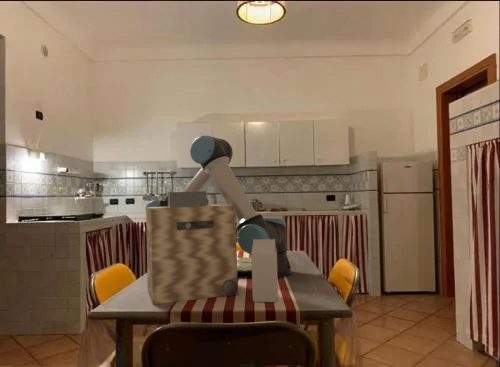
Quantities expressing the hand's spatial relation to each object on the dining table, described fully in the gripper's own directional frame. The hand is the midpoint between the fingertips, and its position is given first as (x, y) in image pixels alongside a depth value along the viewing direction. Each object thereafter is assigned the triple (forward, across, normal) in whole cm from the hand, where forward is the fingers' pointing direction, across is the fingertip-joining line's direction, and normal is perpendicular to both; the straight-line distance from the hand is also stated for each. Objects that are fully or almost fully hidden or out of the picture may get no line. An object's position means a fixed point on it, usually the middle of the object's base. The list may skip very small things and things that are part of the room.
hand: (178, 193), depth 139 cm
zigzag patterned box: (-8, -2, -36) cm, 37 cm away
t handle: (+1, 0, -6) cm, 6 cm away
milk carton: (+8, -22, -45) cm, 51 cm away
